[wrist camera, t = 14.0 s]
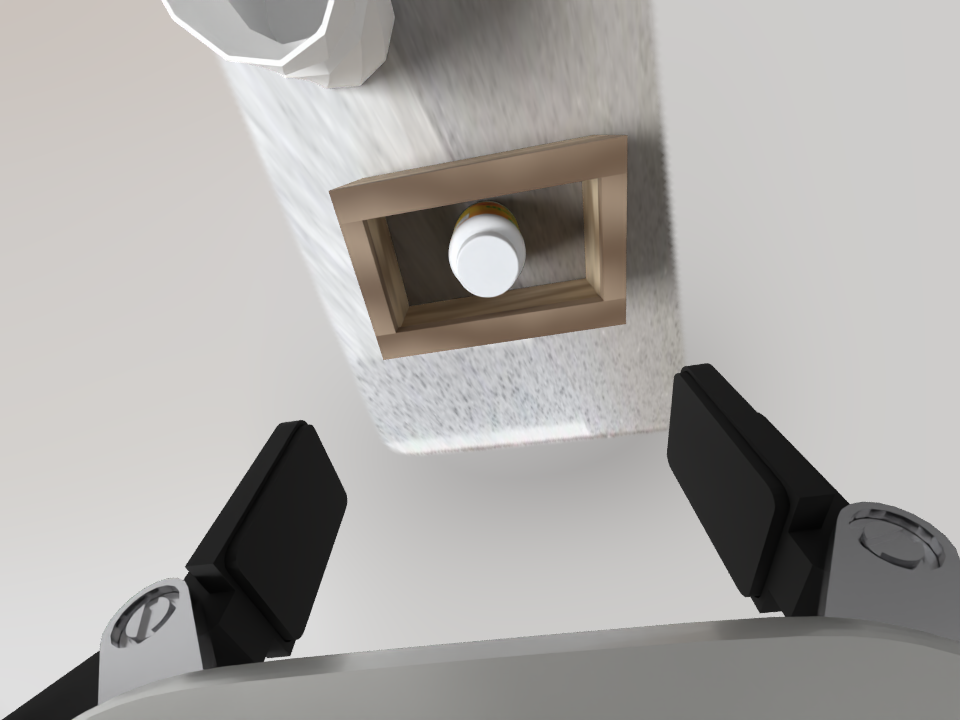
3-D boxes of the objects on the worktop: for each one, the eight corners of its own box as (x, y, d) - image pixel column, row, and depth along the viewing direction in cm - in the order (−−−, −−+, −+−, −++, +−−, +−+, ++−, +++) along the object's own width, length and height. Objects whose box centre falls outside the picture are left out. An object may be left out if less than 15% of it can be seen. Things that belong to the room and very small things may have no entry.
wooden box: (362, 178, 32) (328, 191, 25) (593, 135, 30) (627, 135, 23) (401, 317, 37) (383, 359, 30) (597, 287, 36) (625, 323, 29)
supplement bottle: (532, 226, 33) (548, 257, 25) (493, 277, 36) (497, 322, 27) (478, 185, 32) (476, 204, 23) (442, 242, 34) (428, 278, 26)
